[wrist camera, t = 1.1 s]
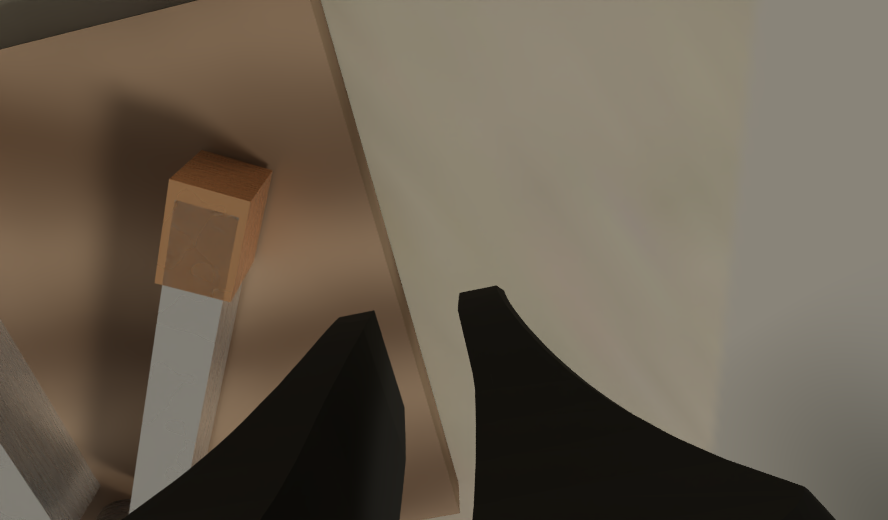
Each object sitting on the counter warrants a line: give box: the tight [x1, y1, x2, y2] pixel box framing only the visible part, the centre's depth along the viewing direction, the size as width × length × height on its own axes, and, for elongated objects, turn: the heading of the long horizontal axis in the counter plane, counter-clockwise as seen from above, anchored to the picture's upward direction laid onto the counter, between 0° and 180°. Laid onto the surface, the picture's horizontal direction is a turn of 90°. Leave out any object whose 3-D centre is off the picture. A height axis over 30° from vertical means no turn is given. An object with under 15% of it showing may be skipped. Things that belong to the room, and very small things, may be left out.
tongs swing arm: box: [129, 150, 273, 514], centre depth 20 cm, size 13×2×2 cm, turn 163°
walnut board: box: [0, 0, 460, 520], centre depth 22 cm, size 19×24×2 cm
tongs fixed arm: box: [0, 319, 131, 520], centre depth 20 cm, size 17×4×4 cm, turn 13°
